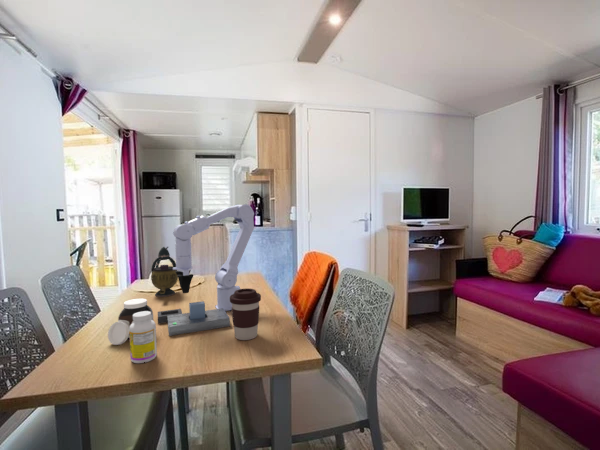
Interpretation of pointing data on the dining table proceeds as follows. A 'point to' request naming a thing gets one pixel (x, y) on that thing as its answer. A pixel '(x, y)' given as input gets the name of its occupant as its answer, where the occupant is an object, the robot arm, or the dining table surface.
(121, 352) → the dining table surface
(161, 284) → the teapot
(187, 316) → the panel
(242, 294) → the coffee cup
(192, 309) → the plug
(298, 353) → the dining table surface
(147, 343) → the supplement bottle
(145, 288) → the dining table surface
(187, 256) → the robot arm
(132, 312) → the spread jar
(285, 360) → the dining table surface
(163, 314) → the holster
